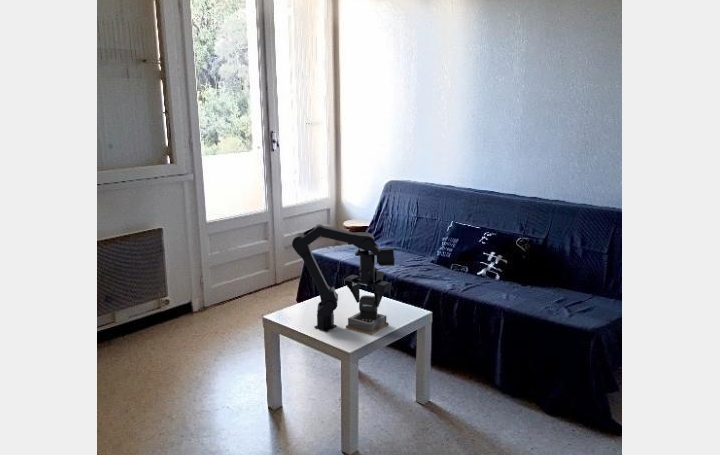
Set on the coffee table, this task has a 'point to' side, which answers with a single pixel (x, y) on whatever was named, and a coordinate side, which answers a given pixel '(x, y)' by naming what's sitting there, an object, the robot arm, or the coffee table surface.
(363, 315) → the battery charger
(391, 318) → the coffee table surface
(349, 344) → the coffee table surface
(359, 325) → the dock
